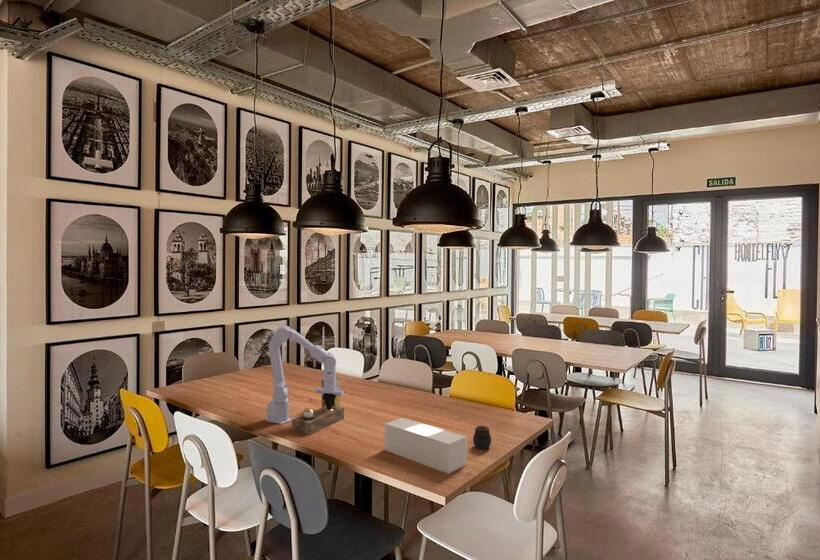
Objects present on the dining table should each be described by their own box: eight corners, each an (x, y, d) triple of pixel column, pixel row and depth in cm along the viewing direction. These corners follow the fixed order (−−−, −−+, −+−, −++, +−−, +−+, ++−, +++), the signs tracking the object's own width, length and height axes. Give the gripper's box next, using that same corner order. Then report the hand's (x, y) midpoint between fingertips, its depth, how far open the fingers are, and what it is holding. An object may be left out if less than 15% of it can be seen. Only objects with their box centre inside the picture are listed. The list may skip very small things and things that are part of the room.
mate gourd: (489, 444, 197) (489, 420, 197) (492, 451, 190) (493, 426, 190) (471, 443, 197) (472, 419, 197) (474, 451, 190) (475, 426, 189)
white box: (466, 465, 176) (466, 436, 176) (448, 474, 168) (448, 443, 168) (402, 443, 197) (403, 417, 197) (384, 450, 189) (384, 423, 189)
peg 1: (301, 420, 211) (302, 409, 211) (307, 417, 214) (307, 407, 214) (309, 421, 209) (309, 411, 209) (314, 418, 213) (314, 408, 213)
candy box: (320, 409, 243) (321, 379, 243) (326, 407, 247) (326, 377, 247) (334, 412, 239) (335, 381, 239) (340, 409, 243) (340, 379, 242)
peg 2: (323, 419, 225) (323, 409, 225) (328, 417, 229) (328, 407, 229) (330, 420, 224) (330, 411, 224) (335, 418, 227) (335, 408, 227)
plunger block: (291, 431, 210) (292, 419, 209) (326, 415, 233) (326, 405, 233) (310, 434, 205) (310, 423, 205) (344, 418, 229) (344, 407, 229)
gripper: (347, 380, 227) (347, 409, 227) (322, 377, 233) (321, 405, 233) (338, 383, 220) (338, 413, 220) (313, 380, 226) (312, 409, 227)
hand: (329, 409), depth 226 cm, fingers closed, pressing on peg 2
